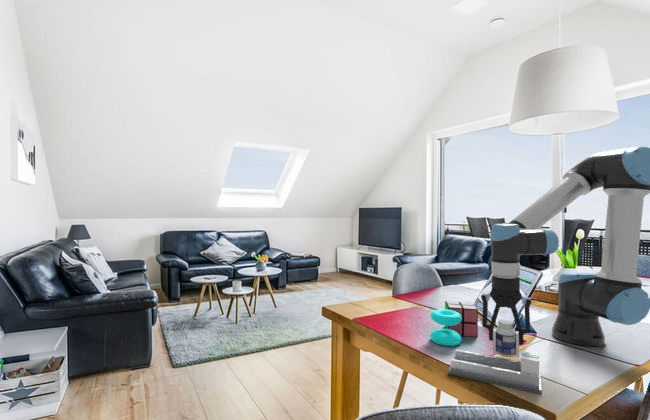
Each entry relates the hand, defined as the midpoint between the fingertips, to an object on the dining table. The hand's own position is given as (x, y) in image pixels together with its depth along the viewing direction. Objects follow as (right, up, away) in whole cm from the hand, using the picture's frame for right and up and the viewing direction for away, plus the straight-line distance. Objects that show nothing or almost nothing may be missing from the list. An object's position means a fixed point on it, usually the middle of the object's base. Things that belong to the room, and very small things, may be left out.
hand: (506, 352), depth 110 cm
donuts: (-13, -2, +15) cm, 20 cm away
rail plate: (-8, -2, -10) cm, 13 cm away
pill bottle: (0, -1, 0) cm, 1 cm away
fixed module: (-1, -2, -14) cm, 14 cm away
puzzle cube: (-4, -2, +25) cm, 25 cm away
